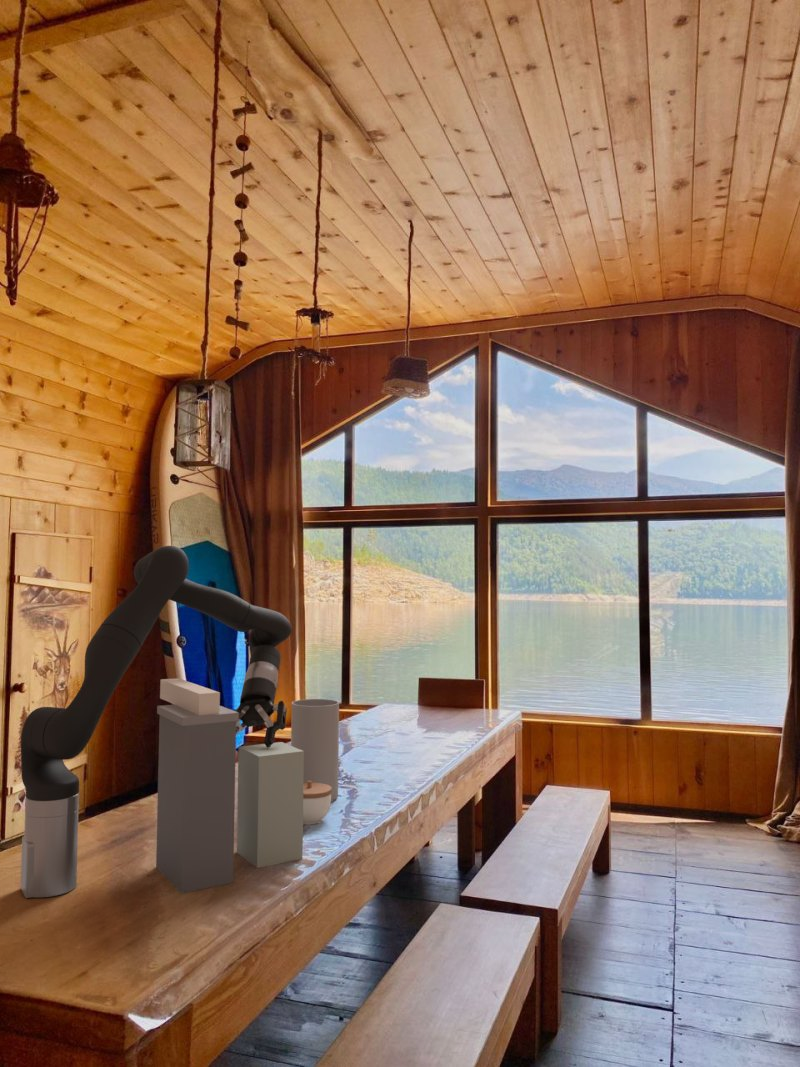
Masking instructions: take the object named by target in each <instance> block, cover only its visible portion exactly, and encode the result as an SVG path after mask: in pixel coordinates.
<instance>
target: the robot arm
mask: <svg viewBox="0 0 800 1067" xmlns="http://www.w3.org/2000/svg"><path fill="white" fill-rule="evenodd" d="M189 569H190V564H189V558H188V556H187V554H186V553H185V551H184V550H183V549H181V548H180V547H178V546H175V545H165V546H160V547H158V548H156V549H154V550H151V552H149V553H147V554H146V555H144V556H143V557H142V558H141V559H139V560H138V561H137V562H136V564H135V566H134V570H133V575H134V579H135V582H136V583H137V585H136V586H135V588H134V589H133V590H132V591H131V592H130V593H129V594H128V595H127V596H126V597H125V598H124V600H122V601H121V602H120V603H119V604H118V605H117V606H116V607H115V608H114V609H113V611H111V612H110V613H109V614H108V616H107V617H106V618H105V619H104V621H103V622H102V623H101V625H100V626H99V627H98V628H97V630H96V631H95V633H94V635H93V636H92V637H91V639H90V641H89V642H88V644H87V646H86V648H85V655H84V676H83V677H84V678H83V681H82V684H81V686H80V688H79V690H78V692H77V693H76V695H75V697H74V698H73V700H72V701H71V702H70V703H69V705H68V706H66V708H64V707H57V706H55V707H53V706H40V707H38V708H35V709H34V710H32V711H31V712H30V713H29V714H28V716H27V717H26V719H25V721H24V723H23V725H22V730H21V734H20V760H21V761H20V763H21V766H20V769H21V771H20V773H21V781H22V784H23V786H24V789H25V801H24V802H25V808H24V810H25V811H24V814H25V815H24V835H23V836H22V838H21V858H20V859H21V862H20V863H21V864H20V866H21V867H20V889H21V892H22V894H23V896H24V898H25V899H29V898H51V897H55V896H57V897H58V896H59V895H64V894H66V893H68V892H70V891H73V890H74V889H75V888H76V887H77V885H78V883H77V880H78V847H79V846H78V843H79V842H78V840H79V838H78V837H79V809H80V808H79V805H80V804H79V803H80V801H79V800H80V778H79V777H78V776H77V775H76V774H75V773H74V772H72V771H71V770H70V769H69V768H68V767H67V766H66V764H65V762H64V760H71V759H74V758H76V757H77V756H79V755H80V754H81V753H82V752H83V751H84V749H85V748H86V747H87V745H88V744H89V742H90V740H91V738H92V737H93V734H94V732H95V730H96V729H97V726H98V724H99V721H100V719H101V718H102V715H103V714H104V711H105V709H106V707H107V705H108V704H109V702H110V700H111V697H112V695H113V694H114V692H115V691H116V688H118V685H119V684H120V681H121V680H122V678H123V677H124V674H125V673H126V672H127V670H128V669H129V667H130V665H131V664H132V663H133V661H134V659H135V658H136V656H137V655H138V653H139V651H140V650H141V647H142V646H143V644H144V642H145V640H146V639H147V638H148V635H149V634H150V632H151V631H152V629H153V627H154V625H155V623H156V622H157V619H158V618H159V616H160V614H161V612H162V611H163V609H164V608H165V606H166V604H168V602H169V601H172V602H174V603H178V604H180V605H183V606H185V607H187V608H190V609H193V610H196V611H198V612H200V613H202V614H204V615H206V616H208V617H211V618H213V619H215V620H217V621H218V622H220V623H221V624H224V625H225V626H227V627H229V628H231V629H233V630H235V631H237V632H240V633H245V632H249V631H250V633H249V635H248V645H249V653H250V658H249V663H248V668H247V671H246V672H245V676H244V679H243V686H242V691H241V695H240V698H239V705H238V707H237V708H236V709H232V710H233V711H236V712H238V713H239V721H236V736H237V735H238V734H239V733H240V732H243V731H244V730H245V729H246V728H251V727H254V726H258V727H259V726H262V725H263V724H264V725H265V727H266V730H265V736H264V740H263V741H264V743H263V744H265V745H266V747H267V748H268V747H271V745H272V744H273V743H275V738H276V733H277V731H279V730H282V731H283V730H285V728H286V720H287V712H288V711H287V710H288V709H287V706H286V705H285V703H284V701H283V700H280V701H278V702H277V704H275V699H276V694H277V688H278V687H279V686H278V683H279V669H280V665H281V652H280V650H279V649H278V648H277V646H279V645H280V644H282V643H283V642H284V641H286V640H287V639H289V637H290V636H291V634H292V628H293V626H292V624H291V622H290V621H289V619H288V618H287V617H286V616H285V615H283V614H282V613H281V612H279V611H275V610H273V609H269V608H266V607H261V606H257V605H254V604H251V603H250V602H248V601H245V600H244V599H242V598H241V597H240V596H238V595H235V594H234V593H231V592H229V591H226V590H223V589H220V588H216V587H212V586H207V585H203V584H200V583H197V582H195V581H192V580H190V579H187V577H188V574H189ZM226 708H228V709H230V710H231V708H230V707H229V706H228V707H226ZM274 712H276V720H275V721H272V719H271V716H272V715H273V714H274Z"/></svg>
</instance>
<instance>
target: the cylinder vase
mask: <svg viewBox="0 0 800 1067" xmlns="http://www.w3.org/2000/svg"><path fill="white" fill-rule="evenodd" d="M290 721H291V725H290V727H291V728H290V729H291V730H290V738H291V739H290V746H293V747H295V748H298V749H300V750H302V751H304V775H303V783H307V781H312V783H323V784H327V785H329V786H331V787H332V793H331V802H333V801H335V800H336V799H337V798H338V796H339V754H340V752H339V751H340V750H339V746H340V745H339V744H340V742H339V738H340V737H339V736H340V735H339V734H340V702H339V701H338V700H333V699H328V698H327V699H325V698H324V699H323V698H310V699H309V698H308V699H297V700H294V701H291V720H290Z"/></svg>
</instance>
